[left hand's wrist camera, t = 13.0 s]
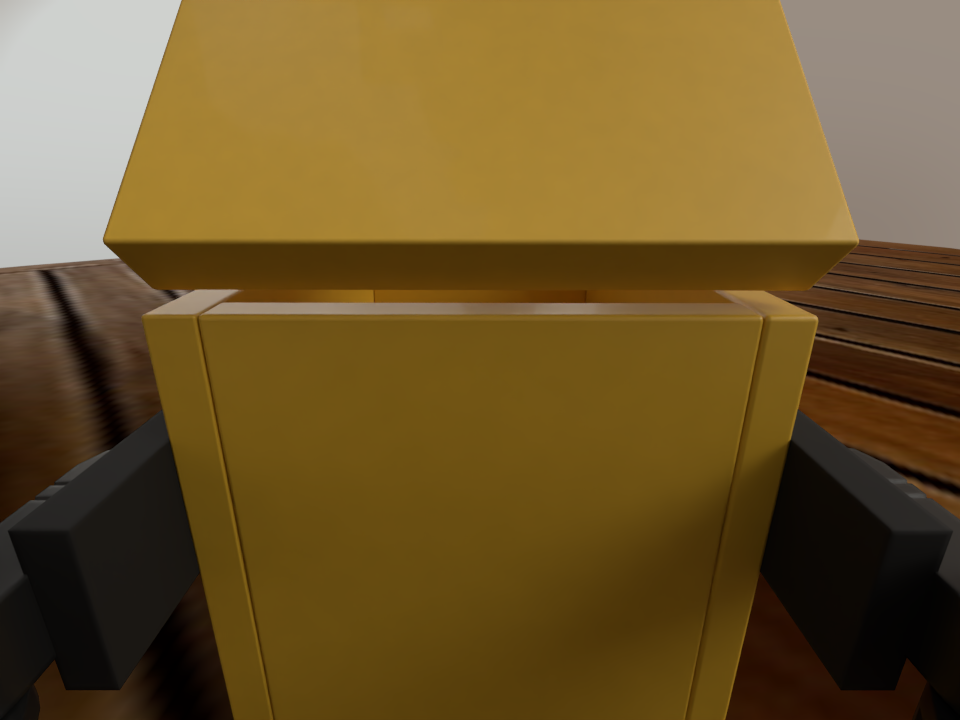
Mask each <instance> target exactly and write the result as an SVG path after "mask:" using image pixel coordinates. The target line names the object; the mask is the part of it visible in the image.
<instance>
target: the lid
mask: <svg viewBox="0 0 960 720" xmlns="http://www.w3.org/2000/svg"><path fill="white" fill-rule="evenodd" d="M103 242H104V244H105V245H106V246H107V247H108V248H109V249H110V250H112V251H113V252H114V253H115V254H116V255H117V256H118V257H119V258H120V259H121V260H122V261H123V262H125V263H126V264H127V265H128V266H129V267H130V268H131V269H132V270H133V271H134V272H135V273H136V274H138V275H139V276H140V277H141V278H142V279H143V280H144V281H145V282H146V283H147V284H148V285H149V286H151V287H152V288H154V289H157V290H711V291H805V290H808V289H810V288H811V287H812V286H813V285H814V284H815V283H816V282H818V281H819V280H820V279H821V278H822V277H823V276H824V275H825V274H826V273H827V272H829V271H830V270H831V269H832V268H833V267H834V266H835V265H836V264H837V263H838V262H840V261H841V260H842V259H843V258H844V257H845V256H846V255H847V254H848V253H849V252H851V251H852V250H853V249H854V248H855V247H856V246H857V245H858V243H859V239H858V236H857V232H856V229H855V226H854V224H853V220H852V217H851V214H850V211H849V208H848V205H847V202H846V199H845V196H844V193H843V190H842V187H841V184H840V181H839V178H838V175H837V172H836V169H835V166H834V163H833V160H832V157H831V154H830V151H829V148H828V145H827V142H826V139H825V136H824V133H823V130H822V127H821V123H820V121H819V117H818V114H817V111H816V108H815V105H814V102H813V99H812V96H811V93H810V90H809V87H808V84H807V81H806V78H805V75H804V72H803V69H802V66H801V63H800V60H799V57H798V54H797V51H796V48H795V45H794V42H793V39H792V36H791V33H790V30H789V27H788V24H787V21H786V18H785V15H784V11H783V8H782V5H781V2H780V0H182V1H181V4H180V7H179V10H178V13H177V16H176V19H175V22H174V25H173V28H172V31H171V34H170V37H169V40H168V43H167V47H166V49H165V52H164V55H163V58H162V61H161V65H160V68H159V71H158V74H157V77H156V80H155V83H154V86H153V89H152V92H151V95H150V98H149V101H148V104H147V107H146V110H145V113H144V116H143V119H142V122H141V125H140V128H139V131H138V134H137V137H136V140H135V143H134V146H133V149H132V152H131V155H130V159H129V161H128V164H127V167H126V170H125V174H124V177H123V179H122V183H121V186H120V189H119V192H118V195H117V198H116V201H115V204H114V207H113V210H112V213H111V216H110V219H109V222H108V225H107V228H106V231H105V234H104V237H103Z"/></svg>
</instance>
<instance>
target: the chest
mask: <svg viewBox="0 0 960 720" xmlns="http://www.w3.org/2000/svg"><path fill="white" fill-rule="evenodd" d="M142 323H143V327H144V331H145V336H146V340H147V344H148V349H149V353H150V357H151V362H152V366H153V371H154V375H155V379H156V384H157V388H158V392H159V397H160V401H161V405H162V410H163V414H164V418H165V423H166V427H167V431H168V436H169V440H170V444H171V449H172V453H173V457H174V462H175V466H176V471H177V475H178V479H179V484H180V488H181V492H182V497H183V501H184V505H185V510H186V514H187V518H188V523H189V527H190V531H191V536H192V540H193V544H194V549H195V553H196V557H197V562H198V566H199V571H200V575H201V579H202V584H203V588H204V592H205V597H206V601H207V605H208V610H209V614H210V618H211V623H212V627H213V631H214V636H215V640H216V644H217V649H218V653H219V658H220V662H221V666H222V671H223V675H224V679H225V684H226V688H227V692H228V697H229V701H230V705H231V710H232V714H233V718H234V720H725V718H726V713H727V709H728V705H729V701H730V696H731V692H732V688H733V684H734V679H735V675H736V671H737V666H738V662H739V658H740V654H741V649H742V645H743V641H744V637H745V632H746V628H747V624H748V620H749V615H750V611H751V607H752V602H753V598H754V594H755V590H756V585H757V581H758V577H759V573H760V568H761V564H762V560H763V555H764V551H765V547H766V543H767V538H768V534H769V530H770V526H771V521H772V517H773V513H774V509H775V504H776V500H777V496H778V491H779V487H780V483H781V479H782V474H783V470H784V466H785V462H786V457H787V453H788V449H789V444H790V440H791V436H792V432H793V427H794V423H795V419H796V415H797V410H798V406H799V402H800V397H801V393H802V389H803V385H804V380H805V376H806V372H807V368H808V363H809V359H810V355H811V351H812V346H813V342H814V338H815V333H816V329H817V325H818V318H817V316H815V315H813V314H811V313H809V312H807V311H804V310H802V309H800V308H798V307H796V306H794V305H792V304H790V303H788V302H786V301H783V300H781V299H779V298H777V297H775V296H773V295H771V294H769V293H767V292H765V291H711V290H195V291H193V292H191V293H189V294H186V295H184V296H182V297H180V298H178V299H176V300H174V301H172V302H170V303H167V304H165V305H163V306H161V307H159V308H157V309H155V310H153V311H151V312H148V313H146V314H144V315H142Z"/></svg>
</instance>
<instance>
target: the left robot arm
mask: <svg viewBox="0 0 960 720" xmlns="http://www.w3.org/2000/svg"><path fill="white" fill-rule="evenodd" d="M760 572H761V573H762V575H763V576H764V578H765V579H766V581H767V582H768V584H769V585H770V587H771V588H772V589H773V591H774V592H775V594H776V595H777V597H778V598H779V600H780V601H781V603H782V604H783V606H784V607H785V609H786V610H787V612H788V613H789V614H790V616H791V617H792V619H793V620H794V622H795V623H796V625H797V626H798V628H799V629H800V631H801V632H802V634H803V635H804V636H805V638H806V639H807V641H808V642H809V644H810V645H811V647H812V648H813V650H814V651H815V653H816V654H817V656H818V657H819V659H820V660H821V661H822V663H823V664H824V666H825V667H826V669H827V670H828V672H829V673H830V675H831V676H832V678H833V679H834V681H835V682H836V683H837V685H838V686H839V688H840V689H841V690H895V688H896V685H897V682H898V680H899V677H900V674H901V672H902V669H903V666H904V663H905V661H906V658H908V659H909V660H910V661H911V663H912V664H913V665H914V666H915V667H916V668H917V669H918V671H919V672H920V673H921V674H922V675H923V676H924V678H925V679H926V680H927V683H926V686H925V688H924V691H923V693H922V696H921V698H920V701H919V703H918V706H917V708H916V711H915V713H914V716H913V719H912V720H960V520H959V519H958V518H957V517H955V516H954V515H953V514H951V513H950V512H949V511H947V510H946V509H945V508H943V507H942V506H941V505H939V504H938V503H937V502H935V501H934V500H933V499H931V498H927V497H926V494H925V493H923V492H922V491H921V490H919V489H918V488H917V487H915V486H914V485H913V484H907V480H906V479H905V478H903V477H902V476H901V475H899V474H898V473H897V472H895V471H894V470H893V469H891V468H890V467H889V466H887V465H886V464H885V463H883V462H881V461H879V460H877V459H875V458H872V457H870V456H868V455H866V454H864V453H862V452H860V451H858V450H856V449H848V448H847V447H846V446H844V445H843V444H842V443H840V442H839V441H838V440H837V439H835V438H834V437H833V436H832V435H830V434H829V433H828V432H826V431H825V430H824V429H823V428H821V427H820V426H819V425H817V424H816V423H815V422H814V421H812V420H811V419H810V418H809V417H807V416H806V415H805V414H803V413H802V412H801V411H800V410H797V415H796V419H795V423H794V427H793V432H792V436H791V440H790V444H789V449H788V453H787V457H786V462H785V466H784V470H783V474H782V479H781V483H780V487H779V491H778V496H777V500H776V504H775V509H774V513H773V517H772V521H771V526H770V530H769V534H768V538H767V543H766V547H765V551H764V555H763V560H762V564H761V568H760ZM199 573H200V571H199V566H198V562H197V557H196V553H195V549H194V544H193V540H192V536H191V531H190V527H189V523H188V518H187V514H186V510H185V505H184V501H183V497H182V492H181V488H180V484H179V479H178V475H177V471H176V466H175V462H174V457H173V453H172V449H171V444H170V440H169V436H168V431H167V427H166V423H165V418H164V414H163V410H161V411H160V412H158V413H157V414H156V415H155V416H153V417H152V418H151V419H149V420H148V421H147V422H146V423H144V424H143V425H142V426H141V427H139V428H138V429H137V430H135V431H134V432H133V433H132V434H130V435H129V436H128V437H126V438H125V439H124V440H123V441H121V442H120V443H119V444H118V445H116V446H115V447H114V448H112V449H111V450H107V451H105V452H103V453H101V454H99V455H97V456H95V457H93V458H91V459H89V460H87V461H84V462H82V463H80V464H78V465H77V466H75V467H74V468H73V469H71V470H70V471H69V472H67V473H66V474H65V475H63V476H62V477H61V478H59V479H58V480H57V481H55V484H54V486H49V487H47V488H46V489H45V490H43V491H42V492H41V493H39V494H38V495H37V496H36V497H35V500H30V501H29V502H28V503H26V504H25V505H24V506H22V507H21V508H20V509H18V510H17V511H16V512H14V513H13V514H12V515H10V516H9V517H8V518H6V519H5V520H4V521H2V522H1V523H0V720H38V717H39V711H40V703H39V696H38V693H37V691H36V688H35V686H34V683H35V682H36V680H37V679H38V678H39V677H40V676H41V675H42V673H43V672H44V671H45V670H46V669H47V668H48V666H49V665H50V664H51V663H52V662H53V661H54V659H55V661H56V664H57V667H58V669H59V672H60V675H61V678H62V680H63V683H64V686H65V688H66V690H120V689H121V687H122V686H123V684H124V683H125V681H126V680H127V678H128V677H129V676H130V674H131V673H132V671H133V670H134V668H135V667H136V665H137V664H138V662H139V661H140V659H141V658H142V656H143V655H144V653H145V652H146V651H147V649H148V648H149V646H150V645H151V643H152V642H153V640H154V639H155V637H156V636H157V634H158V633H159V631H160V630H161V628H162V627H163V626H164V624H165V623H166V621H167V620H168V618H169V617H170V615H171V614H172V612H173V611H174V609H175V608H176V606H177V605H178V604H179V602H180V601H181V599H182V598H183V596H184V595H185V593H186V592H187V590H188V589H189V587H190V586H191V584H192V583H193V581H194V580H195V579H196V577H197V576H198V574H199Z"/></svg>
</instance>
